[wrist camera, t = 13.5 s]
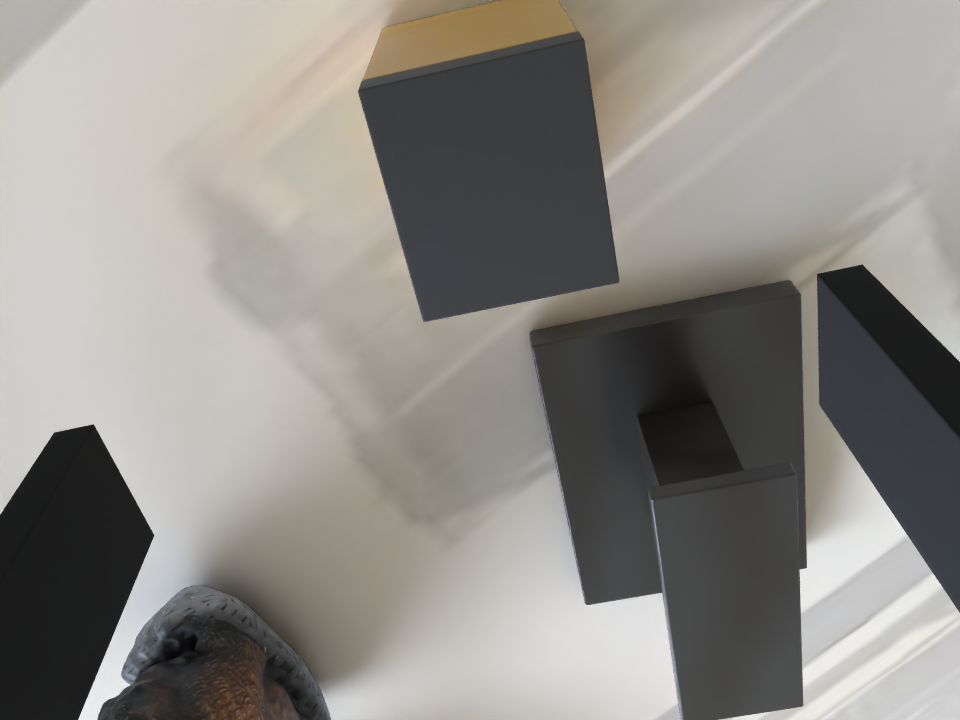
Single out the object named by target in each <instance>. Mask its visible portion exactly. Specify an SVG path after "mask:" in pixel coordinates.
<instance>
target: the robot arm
mask: <svg viewBox="0 0 960 720" xmlns="http://www.w3.org/2000/svg"><path fill="white" fill-rule="evenodd" d="M817 294H818V351H819V405H820V406H821V408H822V409H823V411H824V412H825V414H826V415H827V417H828V418H829V419H830V421H831V422H832V424H833V425H834V427H835V428H836V430H837V431H838V433H839V434H840V436H841V437H842V439H843V440H844V442H845V443H846V445H847V446H848V448H849V449H850V451H851V452H852V454H853V455H854V456H855V458H856V459H857V461H858V462H859V464H860V465H861V467H862V468H863V470H864V471H865V473H866V474H867V476H868V477H869V479H870V480H871V482H872V483H873V485H874V486H875V488H876V489H877V491H878V492H879V494H880V495H881V496H882V498H883V499H884V501H885V502H886V504H887V505H888V507H889V508H890V510H891V511H892V513H893V514H894V516H895V517H896V519H897V520H898V522H899V523H900V525H901V526H902V528H903V529H904V531H905V532H906V534H907V535H908V536H909V538H910V539H911V541H912V542H913V544H914V545H915V547H916V548H917V550H918V551H919V553H920V554H921V556H922V557H923V559H924V560H925V562H926V563H927V565H928V566H929V568H930V569H931V571H932V572H933V574H934V575H935V576H936V578H937V579H938V581H939V582H940V584H941V585H942V587H943V588H944V590H945V591H946V593H947V594H948V596H949V597H950V599H951V600H952V602H953V603H954V605H955V606H956V608H957V609H958V611H959V612H960V362H959V361H958V360H957V359H956V358H955V357H954V356H953V355H952V354H951V353H950V352H949V351H948V350H947V349H946V348H945V347H944V346H943V345H942V344H941V343H940V342H939V341H938V340H937V339H936V338H935V337H934V336H933V335H932V334H931V333H930V332H929V331H928V330H927V329H926V328H925V327H924V326H923V325H922V324H921V323H920V322H919V321H918V320H917V319H916V318H915V317H914V316H913V315H912V314H911V313H910V312H909V311H908V310H907V309H906V308H905V307H904V306H903V305H902V304H901V303H900V302H899V301H898V300H897V299H896V298H895V297H894V296H893V295H892V294H891V293H890V292H889V291H888V290H887V289H886V288H885V287H884V286H883V285H882V284H881V283H880V282H879V281H878V280H877V279H876V278H875V277H874V276H873V275H872V274H871V273H870V272H869V271H868V270H867V269H866V268H865V267H864V266H863V265H858V266H853V267H849V268H844V269H839V270H834V271H829V272H824V273H820V274H817ZM153 537H154V534H153V532H152V530H151V528H150V527H149V525H148V523H147V521H146V519H145V517H144V516H143V514H142V512H141V510H140V508H139V507H138V505H137V503H136V501H135V499H134V497H133V496H132V494H131V492H130V490H129V488H128V486H127V485H126V483H125V481H124V479H123V477H122V475H121V474H120V472H119V470H118V468H117V466H116V464H115V463H114V461H113V459H112V457H111V455H110V453H109V452H108V450H107V448H106V446H105V444H104V442H103V441H102V439H101V437H100V435H99V433H98V431H97V430H96V428H95V426H94V424H93V425H89V426H84V427H79V428H74V429H69V430H64V431H60V432H55V433H54V434H53V435H52V437H51V438H50V440H49V441H48V443H47V444H46V446H45V447H44V449H43V451H42V452H41V454H40V455H39V457H38V458H37V460H36V461H35V463H34V464H33V466H32V467H31V469H30V470H29V472H28V473H27V475H26V476H25V478H24V480H23V481H22V483H21V484H20V486H19V487H18V489H17V490H16V492H15V493H14V495H13V496H12V498H11V499H10V501H9V502H8V504H7V505H6V507H5V508H4V510H3V512H2V513H1V515H0V720H78V719H79V716H80V714H81V711H82V709H83V706H84V704H85V702H86V699H87V697H88V694H89V692H90V690H91V687H92V685H93V682H94V680H95V677H96V675H97V673H98V670H99V668H100V665H101V663H102V661H103V658H104V656H105V653H106V651H107V648H108V646H109V644H110V641H111V639H112V636H113V634H114V632H115V629H116V627H117V624H118V622H119V619H120V617H121V615H122V612H123V610H124V607H125V605H126V603H127V600H128V598H129V595H130V593H131V590H132V588H133V586H134V583H135V581H136V578H137V576H138V573H139V571H140V569H141V566H142V564H143V561H144V559H145V557H146V554H147V552H148V549H149V547H150V544H151V542H152V540H153Z"/></svg>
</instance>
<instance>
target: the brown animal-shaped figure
mask: <svg viewBox="0 0 960 720" xmlns="http://www.w3.org/2000/svg"><path fill="white" fill-rule="evenodd" d="M121 675H122V678H123V679H124V680H125V681H126V682H127V683H128V684H130V686H129V687H127V688H125V689H124V690H123V691H122V692H121V693H120V695H118V696H116V697H114V698H112V699H109V700H107V701H106V702H105V703H104V704H103V706H102V708H101V710H100V713H99V715H98V720H331V718H330V714H329V711H328V708H327V706H326V703H325V700H324V697H323V695H322V692H321V690H320V688H319V686H318V685H317V683H316V681H315V680H314V678H313V677H312V675H311V673H310V671H309V669H308V667H307V665H306V664H305V662H304V661H303V660H302V659H301V657H300V656H299V655H298V654H297V653H296V652H295V651H294V650H293V649H292V648H291V647H290V646H289V645H287V644H286V643H285V642H284V641H283V639H282V638H281V637H280V636H279V635H278V634H277V633H276V632H275V631H274V630H273V629H272V628H271V627H270V626H269V625H268V624H267V623H266V622H265V621H264V620H263V619H261V618H260V617H259V616H258V615H257V614H256V613H255V612H254V611H253V610H252V609H251V608H250V607H249V606H247V605H246V604H245V603H243V602H242V601H240V600H239V599H237V598H235V597H233V596H230V595H228V594H225V593H223V592H221V591H219V590H216V589H213V588H211V587H208V586H205V585H200V586H190V587H187V588H184V589H183V590H181V591H180V592H179V593H177V594H176V595H175V596H174V597H173V598H172V599H171V600H170V601H169V602H168V603H167V604H166V605H165V606H164V607H162V608H161V609H160V610H159V611H158V612H157V613H156V614H155V615H154V616H153V617H152V618H151V619H150V620H149V621H148V622H147V623H146V624H145V625H144V627H143V628H142V630H141V631H140V633H139V634H138V636H137V637H136V641H135V644H134V646H133V648H132V650H131V652H130V653H129V655H128V657H127V660H126V662H125V664H124V666H123V669H122V674H121Z"/></svg>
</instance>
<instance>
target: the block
mask: <svg viewBox="0 0 960 720" xmlns="http://www.w3.org/2000/svg"><path fill="white" fill-rule="evenodd" d="M358 93H359V97H360V100H361V104H362V107H363V111H364V114H365V118H366V121H367V125H368V128H369V132H370V135H371V139H372V143H373V146H374V150H375V153H376V157H377V160H378V164H379V167H380V171H381V174H382V178H383V181H384V185H385V188H386V192H387V195H388V199H389V203H390V206H391V210H392V213H393V217H394V220H395V224H396V227H397V231H398V234H399V238H400V241H401V245H402V248H403V252H404V256H405V259H406V263H407V266H408V270H409V273H410V277H411V280H412V284H413V287H414V291H415V294H416V298H417V301H418V305H419V308H420V312H421V316H422V319H423V321H424V322H427V321H432V320H437V319H442V318H447V317H452V316H457V315H462V314H466V313H471V312H476V311H481V310H486V309H491V308H496V307H501V306H506V305H511V304H516V303H521V302H526V301H531V300H536V299H541V298H546V297H551V296H555V295H560V294H565V293H570V292H575V291H580V290H585V289H590V288H595V287H600V286H605V285H610V284H615V283H619V275H618V268H617V261H616V254H615V247H614V240H613V234H612V227H611V220H610V213H609V206H608V199H607V192H606V186H605V179H604V172H603V165H602V158H601V151H600V144H599V137H598V131H597V124H596V117H595V110H594V103H593V96H592V89H591V83H590V76H589V69H588V62H587V55H586V48H585V41H584V39H583V37H582V36H581V34H580V33H579V32H578V31H577V29H576V28H575V26H574V25H573V23H572V22H571V20H570V18H569V17H568V15H567V14H566V12H565V11H564V9H563V7H562V6H561V4H560V3H559V1H558V0H500V1H495V2H491V3H487V4H483V5H478V6H474V7H470V8H465V9H461V10H457V11H453V12H448V13H444V14H440V15H435V16H431V17H427V18H423V19H418V20H414V21H410V22H405V23H401V24H397V25H393V26H388V27H384V28H383V29H382V31H381V33H380V36H379V39H378V41H377V44H376V47H375V49H374V52H373V55H372V57H371V60H370V63H369V65H368V68H367V71H366V73H365V76H364V79H363V81H362V82H361V84H360V87H359V90H358Z"/></svg>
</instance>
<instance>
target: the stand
mask: <svg viewBox="0 0 960 720" xmlns="http://www.w3.org/2000/svg"><path fill="white" fill-rule="evenodd" d="M529 335H530V342H531V348H532V353H533V357H534V362H535V367H536V372H537V377H538V381H539V386H540V391H541V396H542V400H543V405H544V410H545V415H546V420H547V424H548V429H549V434H550V439H551V443H552V448H553V453H554V458H555V463H556V467H557V472H558V477H559V482H560V486H561V491H562V496H563V501H564V505H565V510H566V515H567V520H568V525H569V529H570V534H571V539H572V544H573V548H574V553H575V558H576V563H577V568H578V572H579V577H580V582H581V587H582V591H583V596H584V601H585V604H586V605H591V604H597V603H603V602H609V601H615V600H621V599H627V598H633V597H639V596H645V595H650V594H656V593H662V594H663V601H664V608H665V615H666V622H667V629H668V636H669V643H670V650H671V657H672V664H673V671H674V678H675V685H676V692H677V699H678V706H679V713H680V716H681V720H719V719H726V718H732V717H739V716H745V715H751V714H758V713H764V712H771V711H777V710H784V709H790V708H796V707H802V706H803V679H802V643H801V608H800V573H799V569H804V568H807V551H806V506H805V461H804V415H803V370H802V325H801V294H800V292H799V291H798V290H797V289H796V287H795V286H794V285H793V283H792V282H791V281H784V282H779V283H773V284H768V285H763V286H758V287H753V288H748V289H743V290H738V291H733V292H728V293H723V294H718V295H712V296H707V297H702V298H697V299H692V300H687V301H682V302H677V303H672V304H667V305H662V306H657V307H651V308H646V309H641V310H636V311H631V312H626V313H621V314H616V315H611V316H606V317H601V318H596V319H591V320H585V321H580V322H575V323H570V324H565V325H560V326H555V327H550V328H545V329H540V330H535V331H530V333H529Z"/></svg>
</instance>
